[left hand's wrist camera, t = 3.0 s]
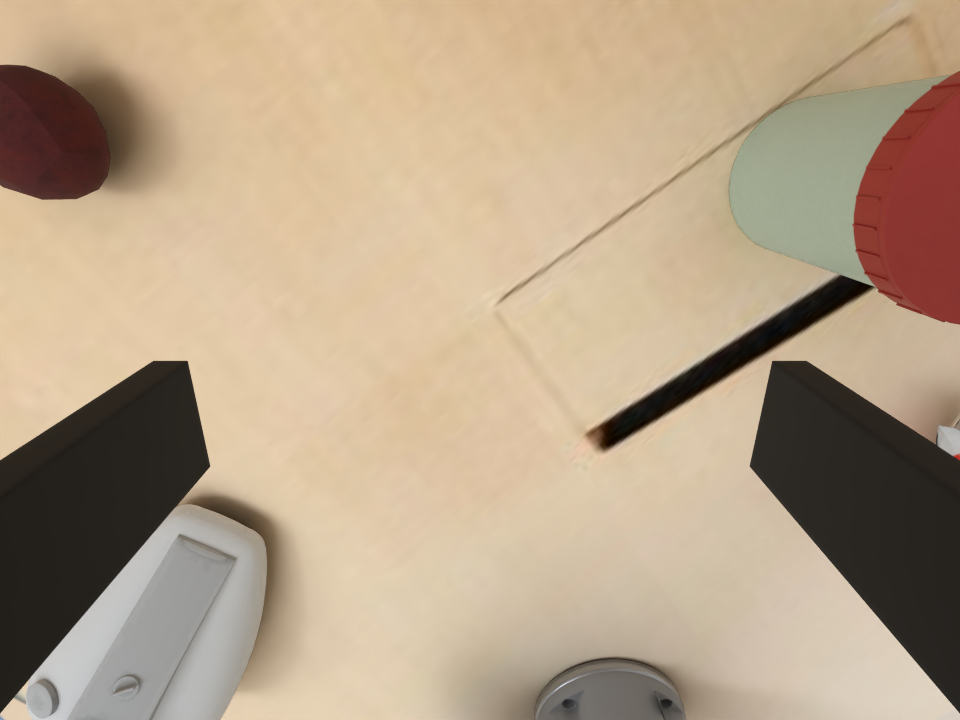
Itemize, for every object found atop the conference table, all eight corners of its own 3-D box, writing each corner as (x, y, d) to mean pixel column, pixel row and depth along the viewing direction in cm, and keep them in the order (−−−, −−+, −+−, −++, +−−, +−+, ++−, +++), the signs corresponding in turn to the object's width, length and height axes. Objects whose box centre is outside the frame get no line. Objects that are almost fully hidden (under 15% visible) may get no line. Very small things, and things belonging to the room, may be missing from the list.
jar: (903, 104, 35) (1199, 74, 21) (849, 259, 39) (1069, 324, 24) (752, 88, 35) (946, 45, 20) (712, 245, 39) (852, 303, 24)
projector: (342, 660, 53) (294, 834, 40) (139, 708, 56) (29, 887, 42) (241, 481, 46) (139, 621, 32) (10, 545, 48) (-174, 701, 35)
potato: (69, 48, 34) (-29, 24, 27) (159, 157, 36) (89, 159, 30) (-6, 119, 35) (-116, 112, 29) (85, 219, 38) (2, 234, 31)
